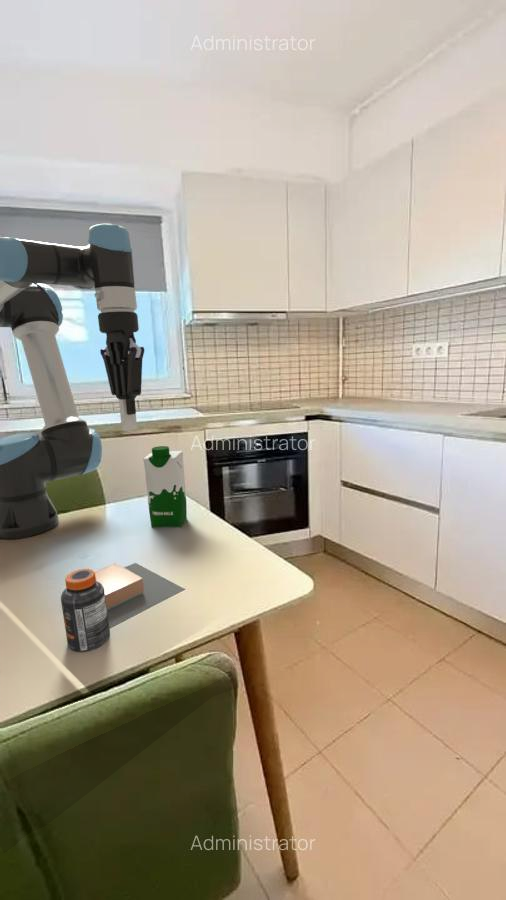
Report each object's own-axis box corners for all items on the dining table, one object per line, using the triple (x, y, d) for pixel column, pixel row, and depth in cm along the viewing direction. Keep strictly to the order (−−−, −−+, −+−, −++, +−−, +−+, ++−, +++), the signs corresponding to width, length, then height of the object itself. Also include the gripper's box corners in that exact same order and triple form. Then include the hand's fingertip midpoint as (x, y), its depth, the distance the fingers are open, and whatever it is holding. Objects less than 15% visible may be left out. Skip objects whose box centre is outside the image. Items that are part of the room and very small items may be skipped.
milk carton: (146, 531, 107) (138, 450, 103) (158, 517, 116) (151, 442, 112) (182, 531, 106) (175, 449, 102) (191, 517, 115) (185, 441, 111)
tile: (117, 577, 84) (71, 597, 77) (115, 563, 83) (68, 582, 77) (144, 593, 78) (96, 617, 71) (142, 578, 77) (93, 600, 71)
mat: (62, 597, 79) (61, 593, 79) (135, 566, 90) (135, 562, 89) (108, 633, 68) (107, 629, 68) (185, 593, 79) (185, 589, 79)
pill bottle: (68, 637, 68) (57, 569, 65) (108, 627, 70) (100, 561, 68) (68, 662, 62) (57, 588, 60) (112, 649, 65) (103, 578, 62)
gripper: (83, 314, 89) (97, 429, 95) (117, 308, 81) (130, 435, 86) (117, 315, 95) (128, 424, 100) (152, 309, 86) (163, 429, 91)
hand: (129, 429), depth 93 cm, fingers closed
